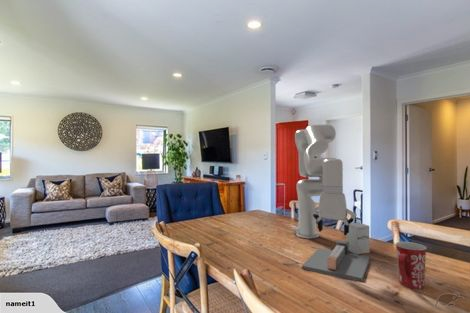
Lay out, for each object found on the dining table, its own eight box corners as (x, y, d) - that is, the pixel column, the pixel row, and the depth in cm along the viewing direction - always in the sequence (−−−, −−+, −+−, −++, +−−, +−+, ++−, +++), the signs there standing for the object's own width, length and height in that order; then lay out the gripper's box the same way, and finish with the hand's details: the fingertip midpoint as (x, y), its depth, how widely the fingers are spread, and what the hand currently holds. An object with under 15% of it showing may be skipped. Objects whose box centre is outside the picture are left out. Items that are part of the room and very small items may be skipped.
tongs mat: (301, 268, 108) (301, 265, 108) (318, 250, 128) (318, 247, 128) (362, 281, 96) (362, 278, 96) (370, 259, 116) (370, 256, 116)
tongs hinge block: (335, 253, 121) (335, 242, 121) (337, 251, 124) (337, 240, 124) (347, 255, 118) (347, 243, 118) (348, 253, 121) (348, 241, 121)
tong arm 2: (331, 269, 103) (331, 259, 103) (341, 254, 118) (341, 245, 118) (336, 270, 102) (335, 259, 102) (345, 255, 118) (344, 246, 118)
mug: (403, 276, 100) (402, 239, 100) (431, 285, 93) (431, 246, 93) (385, 285, 93) (385, 246, 93) (415, 296, 86) (414, 254, 86)
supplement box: (356, 255, 122) (356, 227, 122) (345, 249, 129) (345, 223, 129) (370, 253, 124) (369, 225, 124) (358, 247, 131) (358, 221, 131)
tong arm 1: (327, 268, 104) (327, 258, 104) (336, 253, 119) (336, 244, 119) (331, 269, 103) (331, 259, 103) (340, 254, 119) (340, 245, 119)
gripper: (308, 189, 109) (308, 231, 109) (354, 192, 99) (354, 238, 100) (313, 187, 115) (314, 227, 115) (357, 190, 106) (358, 233, 106)
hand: (332, 232), depth 108 cm, fingers open, 9 cm apart
